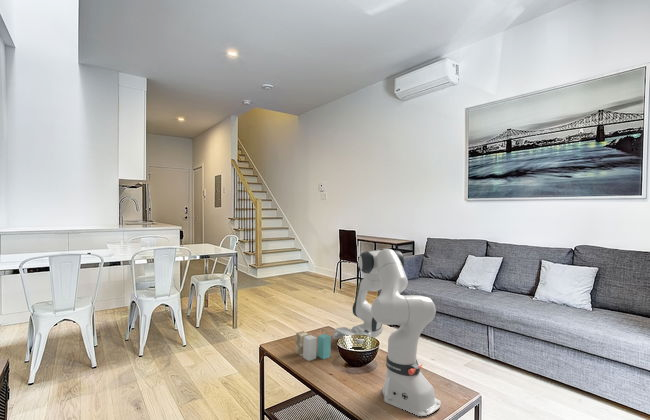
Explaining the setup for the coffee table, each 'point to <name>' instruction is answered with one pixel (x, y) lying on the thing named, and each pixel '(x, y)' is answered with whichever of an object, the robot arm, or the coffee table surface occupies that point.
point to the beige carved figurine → (300, 342)
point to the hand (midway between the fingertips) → (340, 340)
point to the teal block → (324, 346)
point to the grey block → (309, 347)
